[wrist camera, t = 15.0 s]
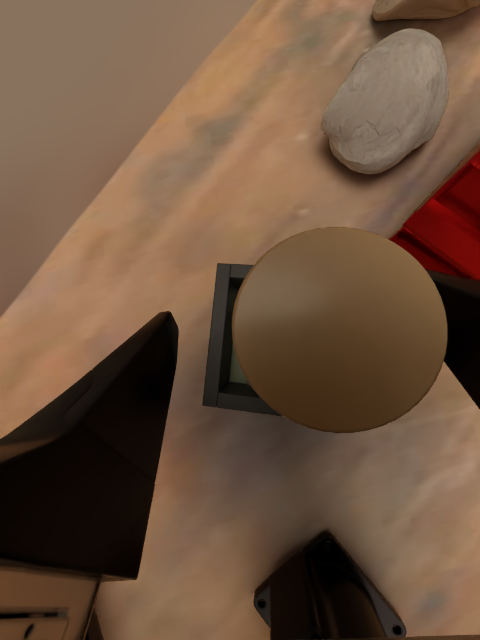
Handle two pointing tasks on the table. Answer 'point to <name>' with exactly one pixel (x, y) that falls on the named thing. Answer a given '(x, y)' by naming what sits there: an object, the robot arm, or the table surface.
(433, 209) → the toy car
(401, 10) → the stone
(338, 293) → the wooden post on base
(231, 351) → the holder
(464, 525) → the table surface
